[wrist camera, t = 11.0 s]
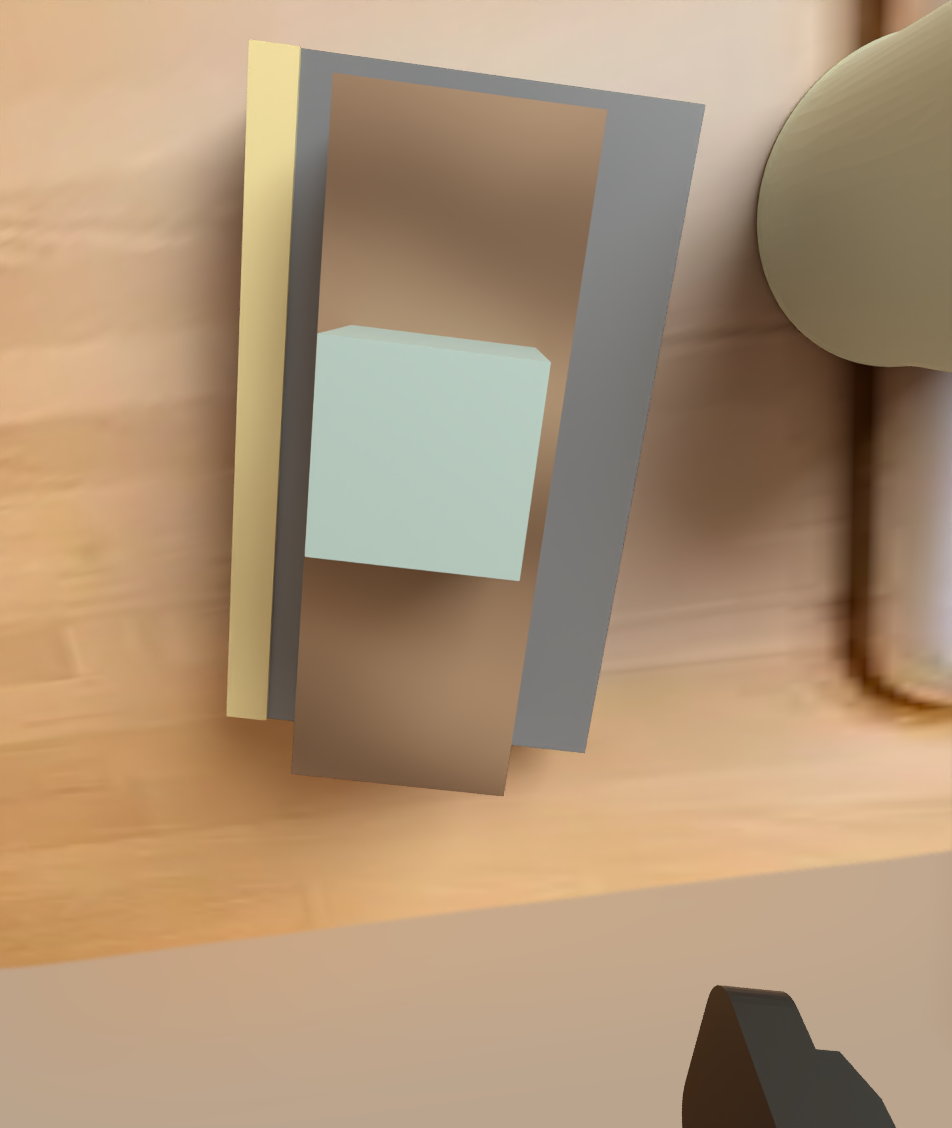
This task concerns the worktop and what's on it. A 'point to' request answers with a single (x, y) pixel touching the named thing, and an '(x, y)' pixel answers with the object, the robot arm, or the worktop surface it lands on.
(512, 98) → the board
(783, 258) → the can
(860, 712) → the worktop surface
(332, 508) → the pale green cube
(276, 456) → the dock
